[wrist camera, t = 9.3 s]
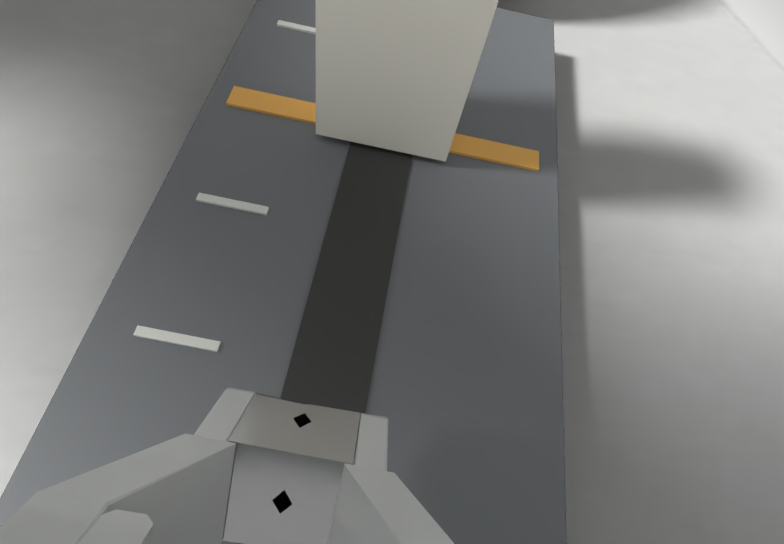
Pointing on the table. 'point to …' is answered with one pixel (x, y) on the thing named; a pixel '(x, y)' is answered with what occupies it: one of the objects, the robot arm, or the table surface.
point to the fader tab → (397, 70)
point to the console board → (345, 287)
